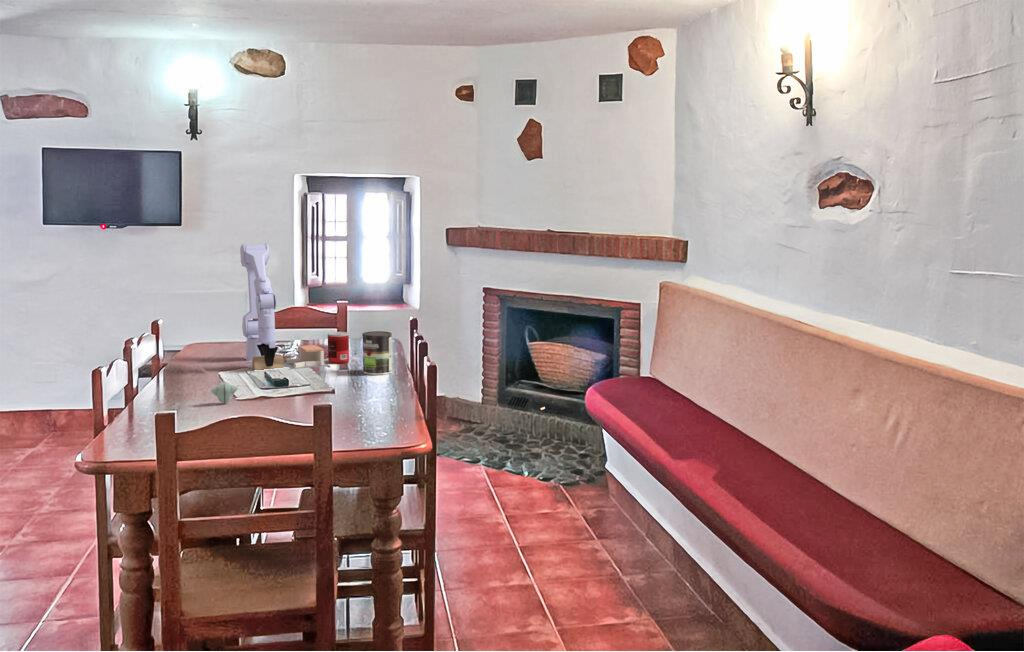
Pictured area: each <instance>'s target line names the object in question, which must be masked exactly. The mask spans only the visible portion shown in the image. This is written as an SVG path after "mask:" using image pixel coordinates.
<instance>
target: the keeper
mask: <svg viewBox="0 0 1024 652" xmlns="http://www.w3.org/2000/svg"><path fill="white" fill-rule="evenodd" d="M298 349H299V350H298V351H299V354H298V355H299V358H286V361H283V367H289V368H290V369H289V370H296V369H297V370H298V369H306V368H307V369H308V368H320V367H327V368H330V367H331V365H330V364H328V363H326V362H325V348H323V347H321V346H319V345H317V344H310V345H309V344H307V345H298ZM245 366H246V368H249V369H250V370H251V371H253V368H252V364H248V365H245Z"/></svg>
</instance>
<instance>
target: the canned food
mask: <svg viewBox="0 0 1024 652" xmlns="http://www.w3.org/2000/svg"><path fill="white" fill-rule="evenodd" d="M349 343H350V337H349V332H346V331H333V332H331V331H330V332H328V333H327V358H328V360H327V361H328V363H329V364H332V365H342V364H347V363H349V362H350V344H349Z"/></svg>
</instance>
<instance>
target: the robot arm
mask: <svg viewBox="0 0 1024 652" xmlns="http://www.w3.org/2000/svg"><path fill="white" fill-rule="evenodd" d="M269 246H270V245H269V244H268V243H257V244H255V243H254V244H253V243H252V244H245V243H242V244H241V245H240V247H239V248H240V249H239V251H240V264H241V266H242V267H244V268H246V272H247V283H248V302H249V311H248V312H247V313H246V314H245V315H243V317H242V326H241V328H242V334H243V336H244V338H246V342H245V349H246V357H243V359H244V360H245V359H246V360H245V361H247V362H249V363H250V362H251V363H252V357H255V356H264V357H265V363H266V366H273V362H274V357H275V355H277V354H276V353H277V351H278V349H279V347H278V346H276V342H277V339H276V320H275V318H276V317H275V315H276V313H275V310H276V308H277V299H276V298H277V297H276V294H275V292H274V291H273V289H272V285H271V284H272V283H271V279H270V278H269V277H267V274H266V273H267V272H266V266H267V264H268V262H269V259H270V247H269Z"/></svg>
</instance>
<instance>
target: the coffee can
mask: <svg viewBox="0 0 1024 652" xmlns="http://www.w3.org/2000/svg"><path fill="white" fill-rule="evenodd" d="M361 335H362V373H363V374H364V375H368V376H384V375H389V374H392V372H393V371H392V370H393V369H392V364H393V363H392V361H393V360H392V356H393V355H392V335H393V333H392V332H390V331H385V330H383V331H381V330H379V331H378V330H377V331H372V330H371V331H365V332H363V333H362V334H361Z"/></svg>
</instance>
